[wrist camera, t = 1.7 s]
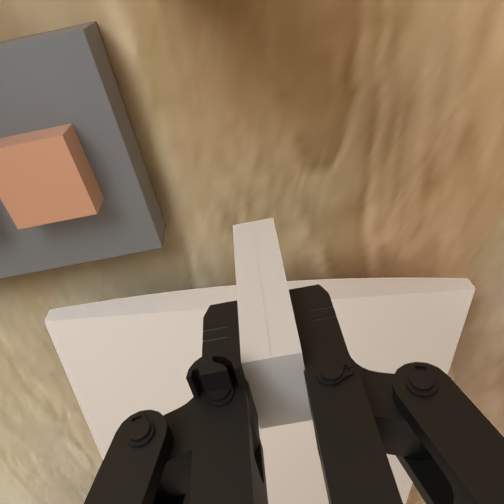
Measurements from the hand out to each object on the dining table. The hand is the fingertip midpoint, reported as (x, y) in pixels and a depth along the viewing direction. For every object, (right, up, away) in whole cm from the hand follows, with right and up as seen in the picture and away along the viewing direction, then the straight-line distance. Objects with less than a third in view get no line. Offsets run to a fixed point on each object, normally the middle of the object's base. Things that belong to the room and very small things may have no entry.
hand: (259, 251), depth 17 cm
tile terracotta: (-13, +5, +10) cm, 17 cm away
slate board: (-17, +6, +13) cm, 22 cm away
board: (+1, -20, +33) cm, 38 cm away
